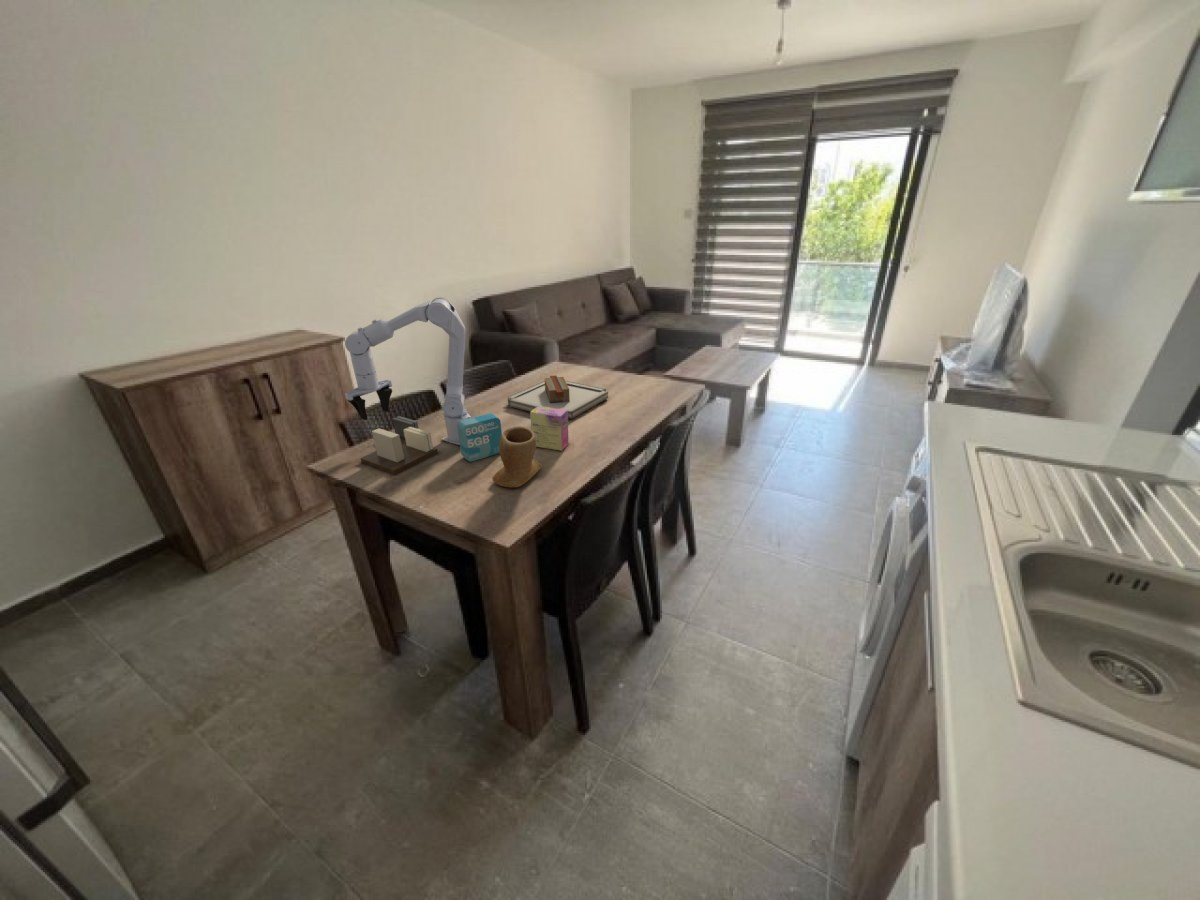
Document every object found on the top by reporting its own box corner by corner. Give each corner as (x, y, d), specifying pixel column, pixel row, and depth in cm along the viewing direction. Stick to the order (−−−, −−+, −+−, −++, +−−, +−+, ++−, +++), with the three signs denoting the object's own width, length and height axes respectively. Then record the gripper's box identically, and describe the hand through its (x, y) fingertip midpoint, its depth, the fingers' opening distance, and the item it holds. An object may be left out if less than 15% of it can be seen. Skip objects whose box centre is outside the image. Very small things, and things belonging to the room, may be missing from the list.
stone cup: (523, 495, 126) (519, 444, 119) (487, 485, 130) (480, 435, 124) (553, 470, 138) (550, 422, 131) (519, 461, 142) (514, 415, 136)
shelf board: (438, 453, 148) (437, 448, 147) (394, 475, 136) (393, 470, 135) (405, 442, 155) (404, 438, 154) (361, 462, 142) (360, 458, 142)
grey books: (420, 437, 158) (417, 421, 155) (413, 441, 156) (410, 424, 153) (402, 432, 162) (398, 415, 159) (395, 435, 160) (392, 418, 157)
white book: (404, 459, 141) (399, 434, 138) (397, 462, 139) (391, 437, 136) (384, 452, 145) (378, 428, 142) (377, 455, 143) (371, 431, 140)
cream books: (433, 448, 147) (430, 432, 145) (426, 452, 145) (423, 435, 143) (413, 442, 151) (410, 426, 149) (406, 445, 149) (403, 429, 147)
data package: (467, 463, 142) (461, 426, 136) (461, 457, 145) (455, 421, 140) (504, 452, 148) (500, 416, 143) (497, 447, 151) (493, 412, 146)
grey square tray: (611, 397, 191) (611, 379, 188) (567, 422, 168) (566, 402, 165) (551, 384, 205) (550, 367, 202) (503, 406, 183) (501, 387, 180)
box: (569, 443, 153) (567, 409, 148) (562, 451, 149) (560, 416, 143) (539, 439, 156) (537, 405, 151) (532, 446, 152) (529, 412, 146)
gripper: (377, 364, 150) (386, 405, 156) (334, 377, 139) (345, 420, 145) (392, 367, 147) (401, 409, 153) (349, 381, 135) (360, 424, 142)
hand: (375, 414), depth 149 cm, fingers open, 7 cm apart
